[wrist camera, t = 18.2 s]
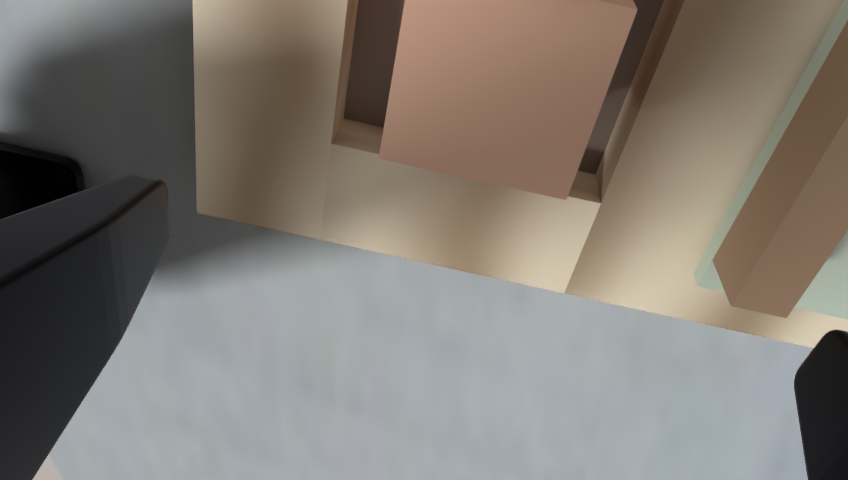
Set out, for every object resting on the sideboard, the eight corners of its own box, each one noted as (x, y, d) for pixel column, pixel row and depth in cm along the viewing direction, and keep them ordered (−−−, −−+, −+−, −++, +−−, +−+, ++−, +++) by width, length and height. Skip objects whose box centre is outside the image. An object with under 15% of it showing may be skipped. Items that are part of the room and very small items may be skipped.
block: (406, 77, 20) (378, 158, 16) (436, -88, 17) (412, -43, 13) (556, 111, 20) (566, 200, 16) (608, -49, 17) (637, 9, 13)
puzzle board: (219, 180, 23) (196, 212, 21) (222, -418, 14) (183, -442, 12) (896, 330, 23) (925, 372, 22) (1310, -164, 14) (1410, -155, 13)
